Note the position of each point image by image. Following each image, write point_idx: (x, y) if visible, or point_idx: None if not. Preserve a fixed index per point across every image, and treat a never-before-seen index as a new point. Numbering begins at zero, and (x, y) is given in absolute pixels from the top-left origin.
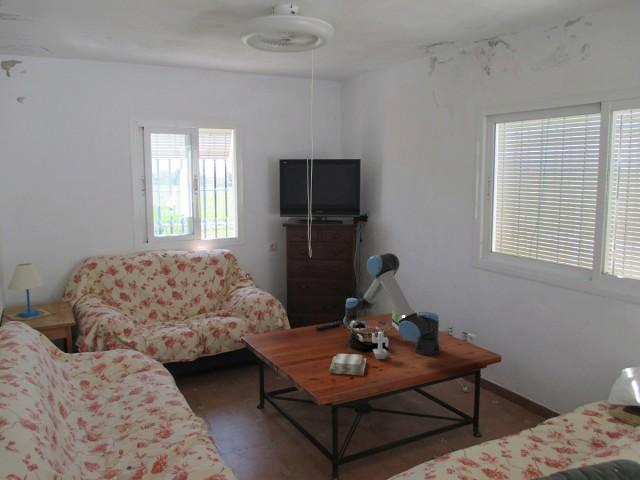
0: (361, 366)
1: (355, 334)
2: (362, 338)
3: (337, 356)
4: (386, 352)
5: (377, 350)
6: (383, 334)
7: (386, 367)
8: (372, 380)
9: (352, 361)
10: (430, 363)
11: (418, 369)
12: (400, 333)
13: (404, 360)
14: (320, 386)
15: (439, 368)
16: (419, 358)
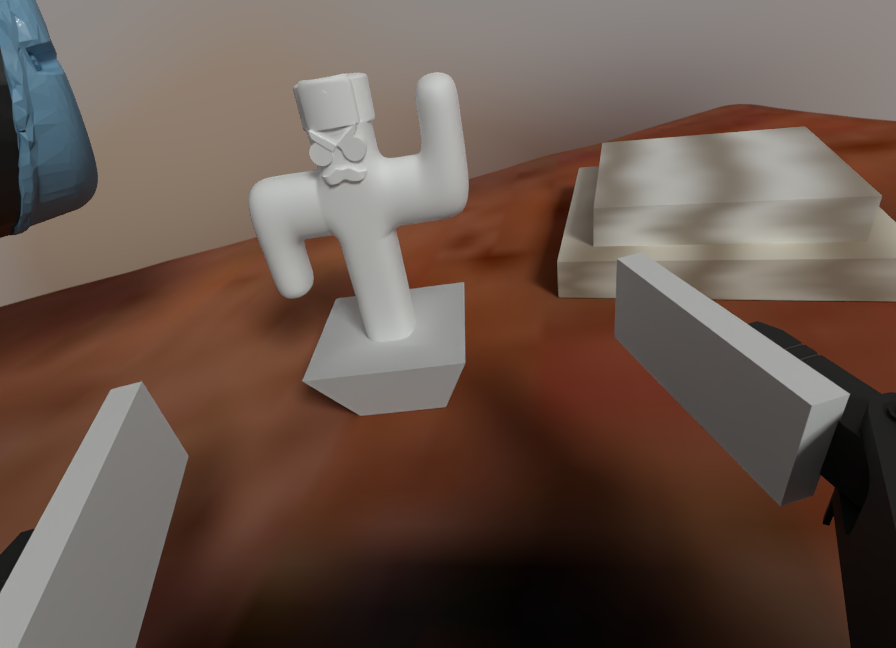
0: (594, 188)
1: (891, 407)
2: (619, 288)
3: (835, 168)
4: (337, 311)
5: (412, 341)
6: (119, 392)
7: (417, 262)
8: (532, 178)
9: (663, 151)
10: (91, 324)
11: (238, 265)
12: (85, 130)
13: (222, 348)
14: (785, 127)
15: (114, 283)
16: (71, 385)
